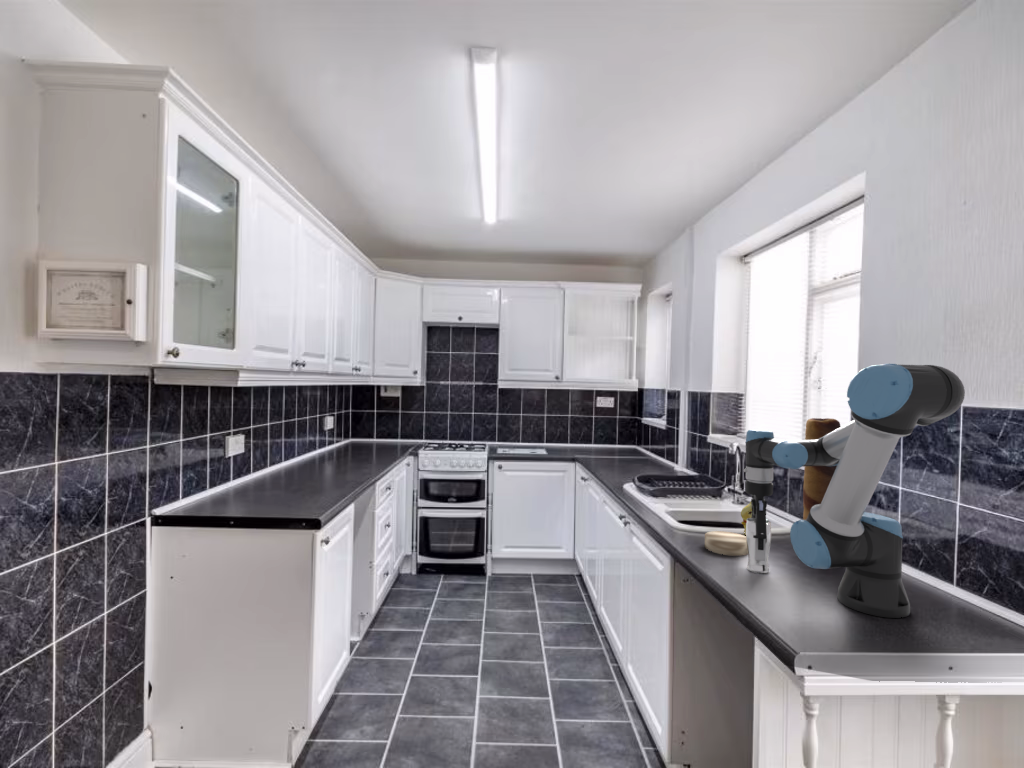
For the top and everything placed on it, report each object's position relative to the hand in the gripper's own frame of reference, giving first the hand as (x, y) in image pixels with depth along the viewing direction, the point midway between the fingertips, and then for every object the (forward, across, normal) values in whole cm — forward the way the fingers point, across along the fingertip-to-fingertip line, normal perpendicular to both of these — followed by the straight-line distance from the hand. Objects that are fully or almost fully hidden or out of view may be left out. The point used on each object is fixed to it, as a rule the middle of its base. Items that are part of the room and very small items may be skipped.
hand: (758, 554), depth 154 cm
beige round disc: (+5, -18, -8) cm, 20 cm away
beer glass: (+5, 0, 0) cm, 5 cm away
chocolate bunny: (+5, -38, +3) cm, 38 cm away
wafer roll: (+5, -25, +21) cm, 33 cm away
